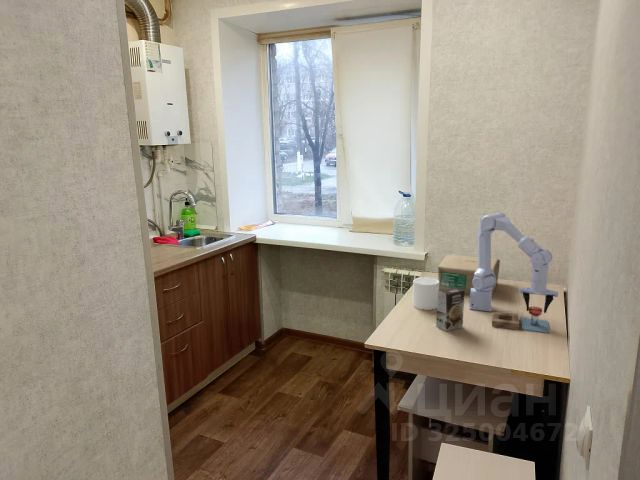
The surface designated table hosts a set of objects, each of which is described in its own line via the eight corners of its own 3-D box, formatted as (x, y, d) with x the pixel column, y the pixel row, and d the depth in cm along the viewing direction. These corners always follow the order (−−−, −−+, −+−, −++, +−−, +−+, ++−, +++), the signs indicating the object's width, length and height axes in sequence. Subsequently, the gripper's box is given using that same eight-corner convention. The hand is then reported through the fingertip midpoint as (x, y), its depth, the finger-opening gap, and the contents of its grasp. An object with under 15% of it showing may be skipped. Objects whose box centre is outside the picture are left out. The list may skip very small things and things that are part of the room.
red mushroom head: (528, 326, 190) (529, 310, 188) (527, 321, 194) (528, 306, 192) (541, 327, 188) (542, 311, 186) (540, 322, 192) (541, 307, 191)
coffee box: (446, 332, 187) (448, 294, 183) (435, 326, 193) (437, 289, 189) (463, 327, 191) (465, 290, 187) (452, 321, 197) (454, 285, 193)
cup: (433, 311, 208) (434, 286, 205) (408, 307, 214) (409, 282, 211) (441, 303, 217) (442, 279, 214) (417, 299, 223) (418, 275, 220)
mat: (522, 329, 187) (522, 328, 187) (521, 318, 198) (521, 317, 198) (549, 333, 184) (549, 332, 184) (546, 321, 195) (547, 320, 195)
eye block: (491, 326, 191) (492, 320, 191) (492, 317, 201) (492, 311, 200) (518, 329, 188) (519, 323, 187) (517, 319, 197) (518, 314, 196)
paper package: (435, 291, 233) (437, 265, 230) (446, 277, 256) (447, 252, 252) (492, 299, 222) (494, 271, 218) (498, 283, 244) (500, 257, 241)
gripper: (520, 281, 185) (517, 312, 188) (560, 284, 180) (556, 317, 183) (519, 275, 192) (516, 306, 195) (558, 279, 187) (555, 310, 190)
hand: (536, 311), depth 190 cm, fingers open, 6 cm apart
